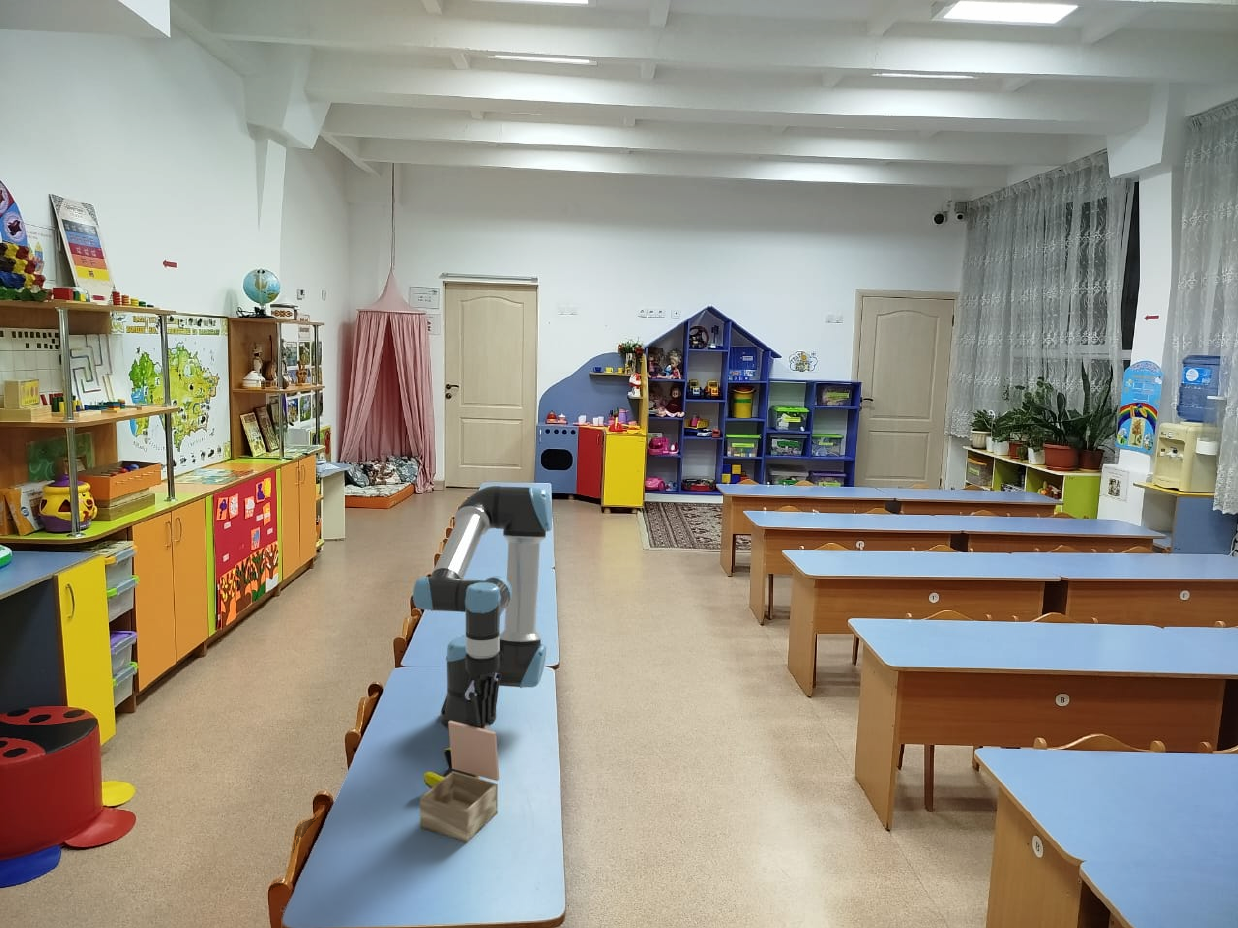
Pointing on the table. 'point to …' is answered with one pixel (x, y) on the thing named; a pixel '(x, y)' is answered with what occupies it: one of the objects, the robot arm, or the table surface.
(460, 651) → the robot arm
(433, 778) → the gaming controller
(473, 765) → the lid
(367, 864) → the table surface
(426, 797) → the box
